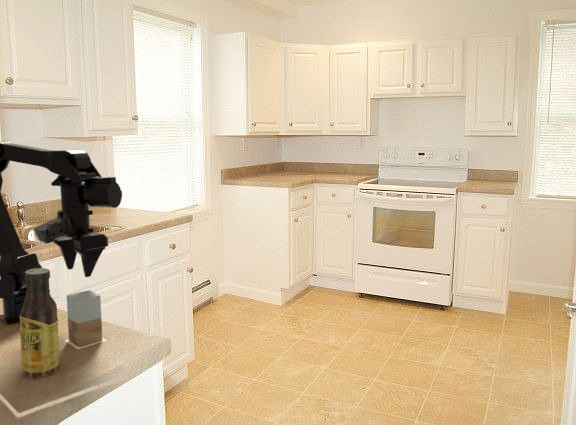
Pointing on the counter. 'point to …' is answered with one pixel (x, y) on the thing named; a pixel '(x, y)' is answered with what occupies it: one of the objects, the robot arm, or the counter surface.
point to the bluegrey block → (83, 306)
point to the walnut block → (85, 332)
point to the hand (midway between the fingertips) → (78, 272)
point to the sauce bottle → (39, 327)
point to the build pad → (83, 346)
